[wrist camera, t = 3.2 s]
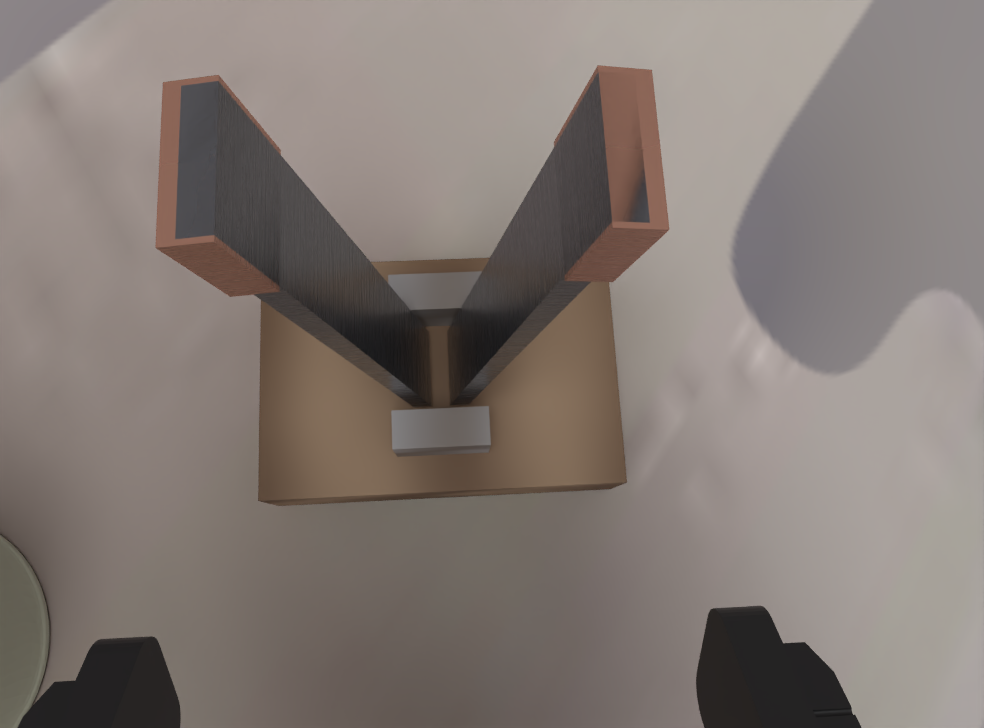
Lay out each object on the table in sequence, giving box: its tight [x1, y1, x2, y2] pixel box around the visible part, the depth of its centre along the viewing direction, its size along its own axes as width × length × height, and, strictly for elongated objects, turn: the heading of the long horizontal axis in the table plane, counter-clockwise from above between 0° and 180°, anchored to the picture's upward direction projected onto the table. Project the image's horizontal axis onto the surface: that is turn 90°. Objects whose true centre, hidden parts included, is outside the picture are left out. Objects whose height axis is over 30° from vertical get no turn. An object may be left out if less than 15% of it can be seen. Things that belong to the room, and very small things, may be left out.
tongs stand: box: [258, 258, 627, 506], centre depth 27 cm, size 12×8×5 cm, turn 93°
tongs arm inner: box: [156, 75, 432, 407], centre depth 19 cm, size 1×3×15 cm, turn 3°
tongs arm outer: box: [447, 66, 669, 405], centre depth 19 cm, size 1×3×15 cm, turn 3°
